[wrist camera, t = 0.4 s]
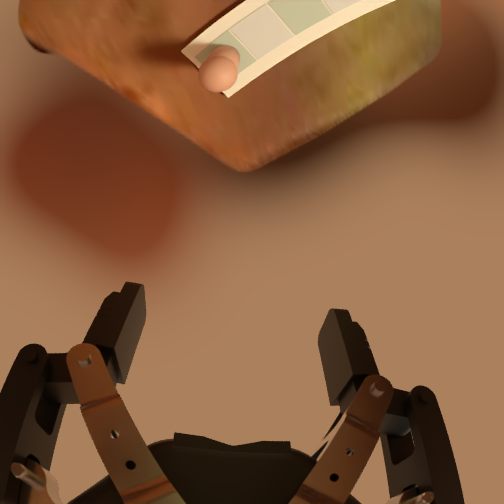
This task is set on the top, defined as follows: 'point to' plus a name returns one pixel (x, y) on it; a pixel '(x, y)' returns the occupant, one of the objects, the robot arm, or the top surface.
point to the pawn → (220, 69)
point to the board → (273, 31)
